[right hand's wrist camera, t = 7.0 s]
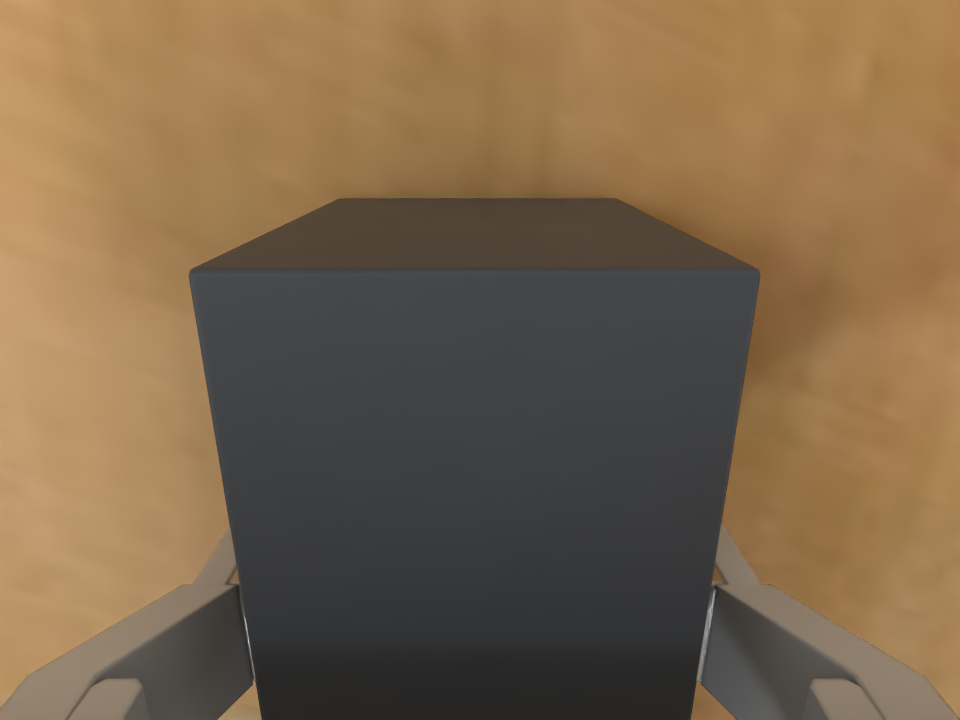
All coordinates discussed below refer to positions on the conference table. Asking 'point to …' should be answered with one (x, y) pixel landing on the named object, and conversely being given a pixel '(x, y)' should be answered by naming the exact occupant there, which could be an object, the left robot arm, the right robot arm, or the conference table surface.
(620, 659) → the post
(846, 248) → the conference table surface
